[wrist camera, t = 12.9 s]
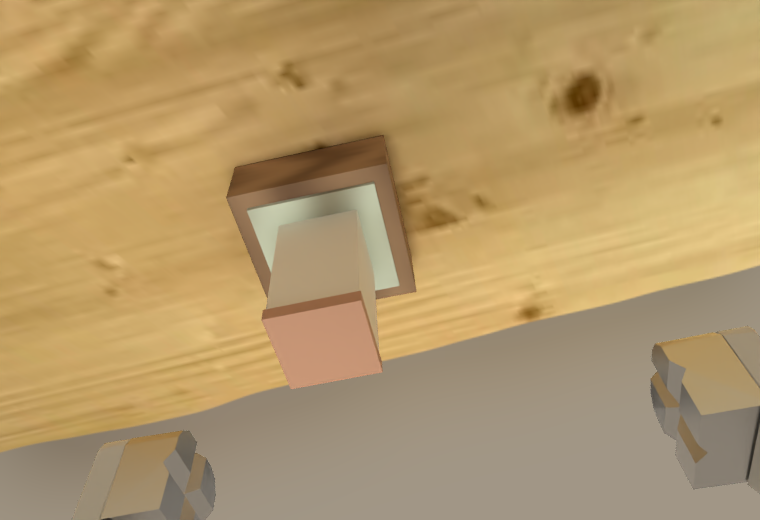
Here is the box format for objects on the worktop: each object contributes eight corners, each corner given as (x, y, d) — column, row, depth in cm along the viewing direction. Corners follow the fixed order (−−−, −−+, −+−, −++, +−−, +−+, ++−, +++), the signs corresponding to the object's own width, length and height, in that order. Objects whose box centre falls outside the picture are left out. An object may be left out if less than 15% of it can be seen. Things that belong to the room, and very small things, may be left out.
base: (383, 135, 42) (386, 165, 38) (411, 257, 48) (416, 294, 44) (235, 167, 43) (225, 200, 39) (280, 284, 49) (275, 321, 45)
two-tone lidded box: (357, 207, 40) (361, 300, 33) (375, 273, 43) (382, 372, 36) (276, 224, 40) (261, 319, 33) (300, 288, 43) (291, 389, 36)
